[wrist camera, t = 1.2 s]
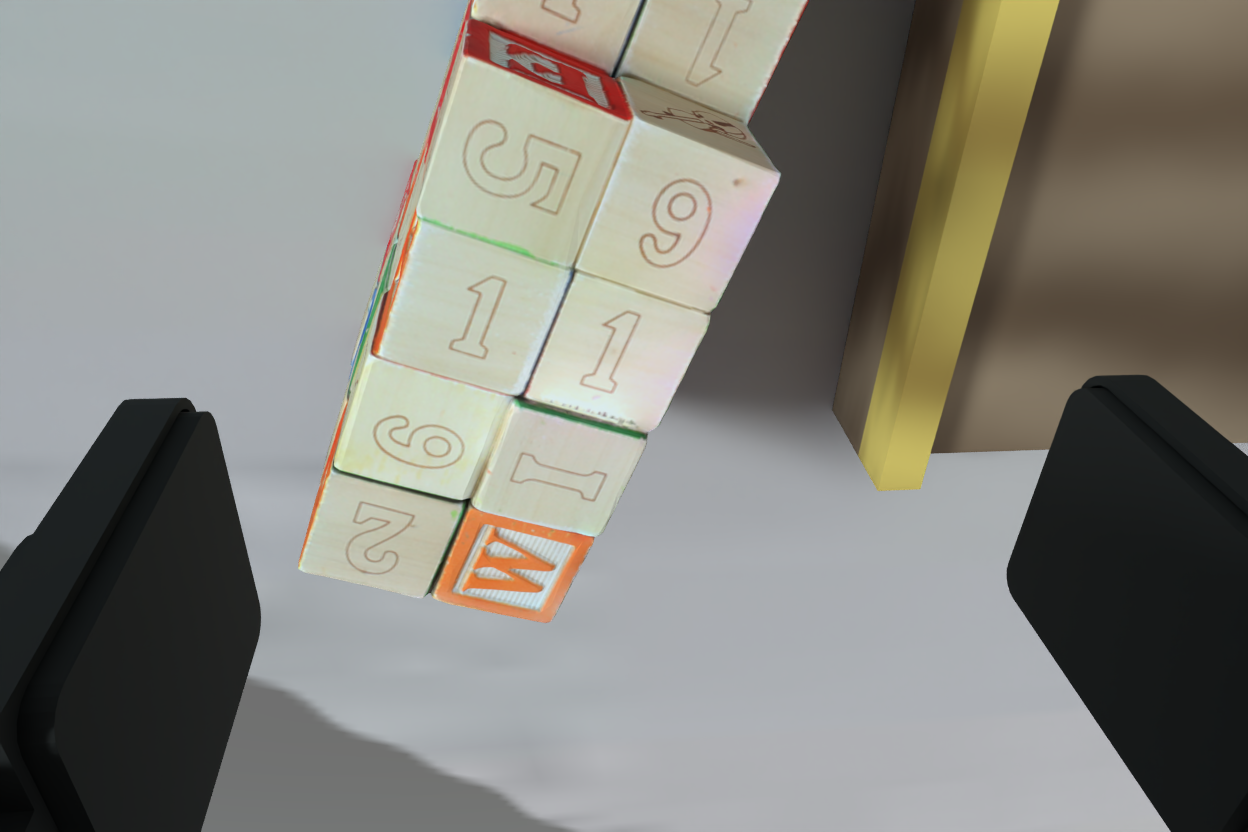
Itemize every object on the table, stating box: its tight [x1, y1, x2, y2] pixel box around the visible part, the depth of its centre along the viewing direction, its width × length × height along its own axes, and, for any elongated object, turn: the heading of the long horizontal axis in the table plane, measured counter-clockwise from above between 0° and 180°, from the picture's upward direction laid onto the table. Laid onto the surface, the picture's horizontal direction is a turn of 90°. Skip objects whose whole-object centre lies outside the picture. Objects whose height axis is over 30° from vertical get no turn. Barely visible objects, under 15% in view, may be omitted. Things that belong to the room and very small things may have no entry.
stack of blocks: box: [298, 0, 809, 623], centre depth 21 cm, size 21×6×12 cm, turn 156°
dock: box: [832, 0, 1248, 491], centre depth 27 cm, size 25×19×5 cm
